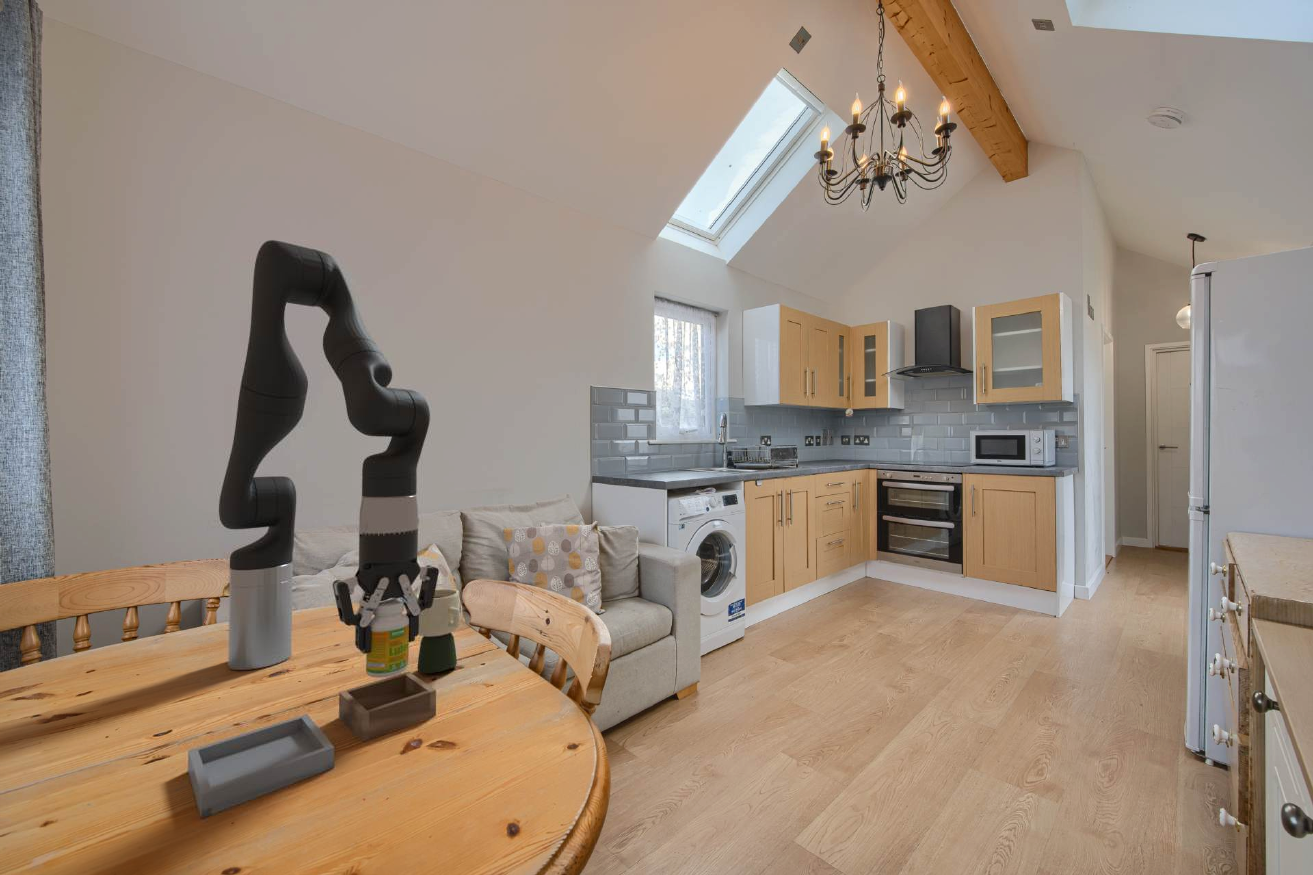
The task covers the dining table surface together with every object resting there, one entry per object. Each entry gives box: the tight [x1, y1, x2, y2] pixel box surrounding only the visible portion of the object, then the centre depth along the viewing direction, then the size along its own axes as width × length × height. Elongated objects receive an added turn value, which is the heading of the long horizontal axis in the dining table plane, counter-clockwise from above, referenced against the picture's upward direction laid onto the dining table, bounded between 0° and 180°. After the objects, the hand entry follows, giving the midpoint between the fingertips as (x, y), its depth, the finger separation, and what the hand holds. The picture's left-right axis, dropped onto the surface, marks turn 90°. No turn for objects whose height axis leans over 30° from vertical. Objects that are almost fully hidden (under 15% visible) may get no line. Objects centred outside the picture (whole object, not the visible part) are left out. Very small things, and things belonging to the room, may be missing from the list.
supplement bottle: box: [365, 598, 410, 679], centre depth 76 cm, size 5×5×10 cm
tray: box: [187, 713, 335, 819], centre depth 63 cm, size 12×12×2 cm
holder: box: [338, 671, 437, 743], centre depth 76 cm, size 10×10×4 cm
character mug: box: [415, 588, 461, 674], centre depth 92 cm, size 11×7×13 cm, turn 59°
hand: (387, 645), depth 76 cm, fingers closed on supplement bottle, 5 cm apart
